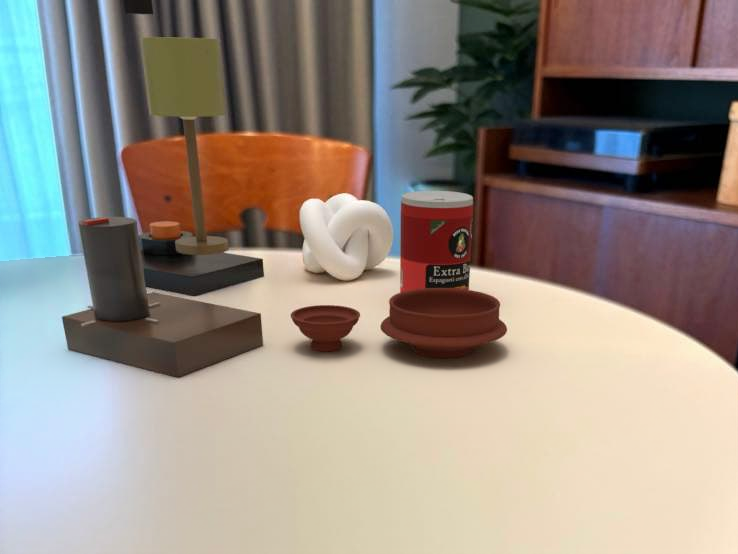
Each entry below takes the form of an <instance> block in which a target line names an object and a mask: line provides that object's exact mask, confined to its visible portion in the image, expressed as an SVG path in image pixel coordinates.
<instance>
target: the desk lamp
mask: <svg viewBox="0 0 738 554" xmlns="http://www.w3.org/2000/svg"><path fill="white" fill-rule="evenodd" d="M139 42H140V50H141V59H142V65H143V72H144V81H145V89H146V97H147V104H148V112H149V115H150V116H154V117H156V116H157V117H172V118H173V117H178V118H180V119H182V122H183V133H184V138H185V139H184V140H185V142H184V143H185V150H186V159H187V168H188V178H189V186H190V197H191V205H192V215H193V223H194V231H195V232H194V233H195V236H193V237H185V238H181V239H178V240H176V241H175V246H176V251H177V252H179V253H182V254H189V255H210V254H218V253H222V252H223V253H227V251H228V252H229V249H230V247H229V239H228V238H226V237H223V236H216V235H207V228H206V227H207V226H206V219H205V208H204V199H203V189H202V181H201V170H200V160H199V151H198V141H197V131H196V121H195V120H196V119H197V118H198V117H219V116H226V115H227V109H226V98H225V87H224V75H223V64H222V63H223V62H222V53H221V40H220V38H211V37H209V38H208V37H171V36H169V37H165V36H163V37H161V36H154V37H153V36H145V37H144V36H143V37H139Z"/></svg>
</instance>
